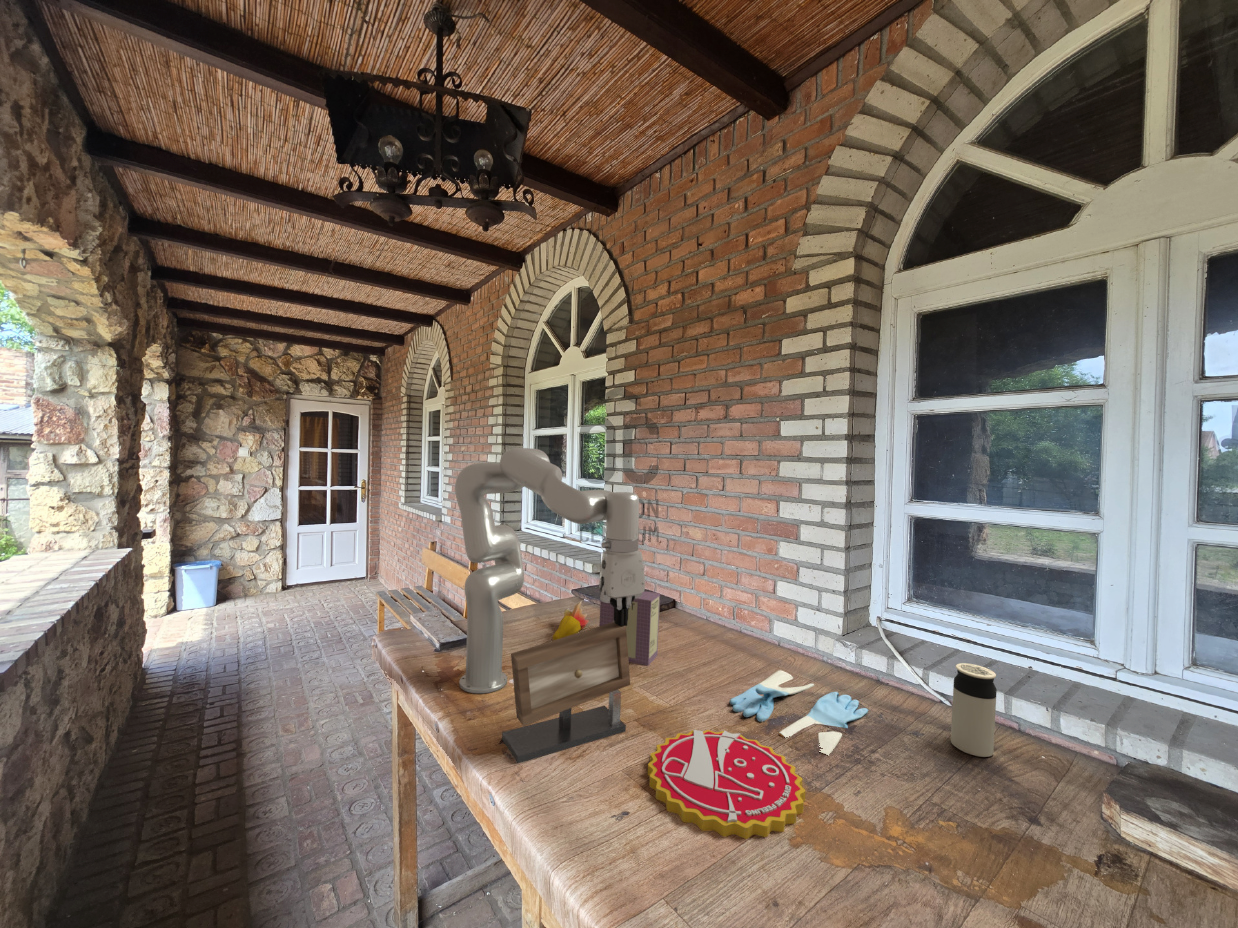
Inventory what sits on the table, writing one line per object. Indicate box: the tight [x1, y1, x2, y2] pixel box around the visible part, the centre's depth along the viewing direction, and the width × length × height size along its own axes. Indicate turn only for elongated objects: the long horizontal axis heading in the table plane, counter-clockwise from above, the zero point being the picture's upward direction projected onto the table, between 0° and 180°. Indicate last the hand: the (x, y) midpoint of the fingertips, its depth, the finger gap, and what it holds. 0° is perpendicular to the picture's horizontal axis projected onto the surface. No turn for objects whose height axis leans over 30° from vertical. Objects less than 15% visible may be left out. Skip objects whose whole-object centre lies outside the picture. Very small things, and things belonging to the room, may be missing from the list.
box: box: [598, 590, 661, 667], centre depth 160 cm, size 17×9×20 cm, turn 68°
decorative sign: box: [647, 729, 806, 840], centre depth 100 cm, size 30×3×30 cm
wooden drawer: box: [510, 622, 631, 727], centre depth 110 cm, size 5×26×14 cm, turn 121°
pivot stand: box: [501, 689, 627, 764], centre depth 113 cm, size 10×26×16 cm, turn 121°
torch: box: [552, 600, 590, 641], centre depth 175 cm, size 8×8×25 cm
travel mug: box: [950, 662, 998, 758], centre depth 115 cm, size 8×8×18 cm
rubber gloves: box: [729, 669, 869, 757], centre depth 130 cm, size 27×33×6 cm
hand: (620, 624), depth 116 cm, fingers closed
